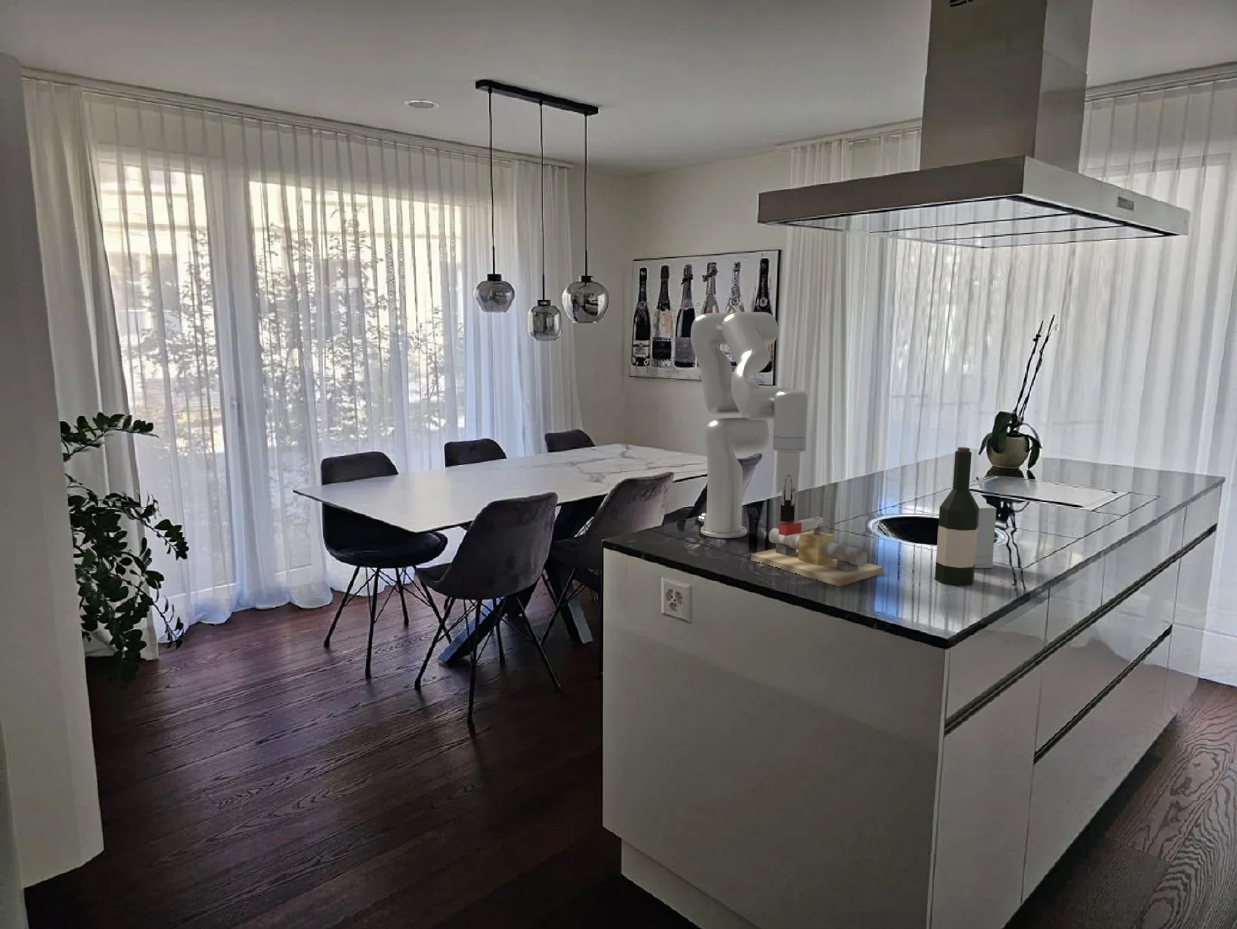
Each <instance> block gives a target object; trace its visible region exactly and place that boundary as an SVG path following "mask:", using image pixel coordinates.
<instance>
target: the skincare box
mask: <svg viewBox="0 0 1237 929" xmlns="http://www.w3.org/2000/svg"><path fill="white" fill-rule="evenodd" d="M976 503H977V505H978V507H979V520H978V533H977V546H976V559H975V569H989V568H990V569H991V568H993V563H994V562H993V561H994V547H995V534H996V533H995V531H996V517H997V507H995V506H993V505H991V504H989V503H987V502H985V501H984V502H983V501H982V502H976Z"/></svg>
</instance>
